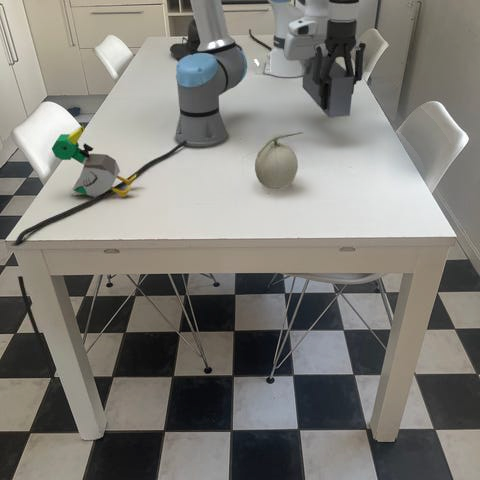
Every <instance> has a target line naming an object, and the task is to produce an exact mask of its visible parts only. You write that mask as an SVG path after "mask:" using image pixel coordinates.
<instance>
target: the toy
mask: <svg viewBox="0 0 480 480" xmlns="http://www.w3.org/2000/svg"><path fill="white" fill-rule="evenodd" d="M84 131H85V128H84V125H81V126H80V127H79V128H78V129H76V130H75V131H73V132H72V133H61V134H59V136H58V137H57V139H56V140H55V142H54V144H53V145H52V147H51V151H52V153H53V155H54V157H55V158H57V159H59V160H61V161H71V160H72V159H73V160H75V161H77V162H78V163H80V164H81V165H83V167H82V170H81V172H80V175H79V177H78V178H77V180H76V182H75V184H74V185H73V188H72V192H74V193H73V194H72V196H81V195H87V196H89V197H92V198H95V197H97V196H99V195H101V194H103V193H104V192H106V191H108V190H110V189H111V190H113V191H114V192H115V193H117V194H118V195H120V196H121V197H124V198H125V197H126V195H127V194H128V193H129V191H131V188H132V183H133V182H134V180H135V179H136V177H137V176H136V174H135V175H134V176H133V177H132V178H131V179H129V180H127V178H126V177H125V178H124V177H122V176H120V173H121V170H120V167H119V164H118V162H117V160H116V159H115V158H113V157H111V156H110V155H108V154H104V153H103V154H102V153H89V152H92V151H93V150H94V147H92V146H91V145H89V144H87V143H84V144H83V145H82V147H83V149H81V148H80V144H79V142H78V141H79V140H80V138H81V137H82V135H83V133H84ZM116 179H118V180H120V181H121V182H125V183H126V184H125V185H128V187H127V188H126V189H125V190H121V189H116V188H114V187H115V186H113V185H114V183H115V181H116Z"/></svg>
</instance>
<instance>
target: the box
mask: <svg viewBox="0 0 480 480" xmlns="http://www.w3.org/2000/svg"><path fill="white" fill-rule="evenodd" d="M326 59H327V56H326V57H322V64H321V72H320V75H321V73H322V70H323V67H324V64H325V62H326ZM314 61H315V57H313V58H310V59H309V60H306V61H305V63H304V66H305V67H307V68H308V74H306V75H302V83H301V84H302V89H303V90H304V91H305V92H306V93H307V94H308V95H309V97H310V98H311V99H312V100H313V101H314V102H315V103H316V105H317V106H318V107H319V108H320V109H321V110H322V111H323V113H324V114H325V115H326V116H327V117H328V118H340V117H349V116H351V107H352V97H353V95H352V89H353V80H354V77H353V76H352V75H351V74H350V73H349V72H347V71H346V68H344V67H343V66H342V65H341V64H339V63H338V62H337V60H336V61H334V62H333V65H332V68H331V70H330V73H329V75H328V79H327V81H326V85H327V86H328V89H327V102H326V110H323V109H322V108H321V107H320V104H321V97H319V95H318V88H319V85H318V84H317V85H316V84H315V83H314V82H313V81H312V77H313V69H314Z"/></svg>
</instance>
